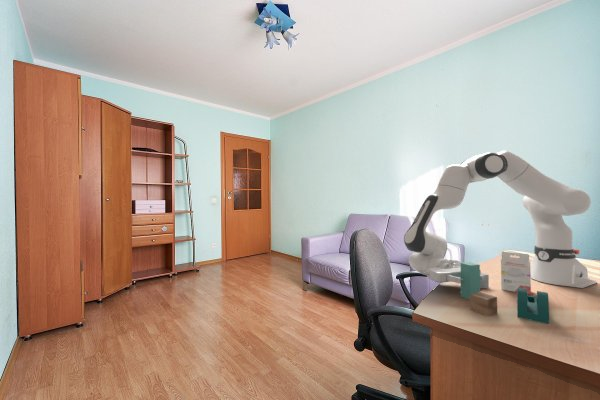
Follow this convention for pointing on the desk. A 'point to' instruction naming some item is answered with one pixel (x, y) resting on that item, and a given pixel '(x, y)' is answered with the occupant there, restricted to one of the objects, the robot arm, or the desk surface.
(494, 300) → the walnut block
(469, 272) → the teal block
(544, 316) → the bracket
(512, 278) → the ink cartridge box
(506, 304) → the desk surface
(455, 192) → the robot arm
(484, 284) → the slate grey block
